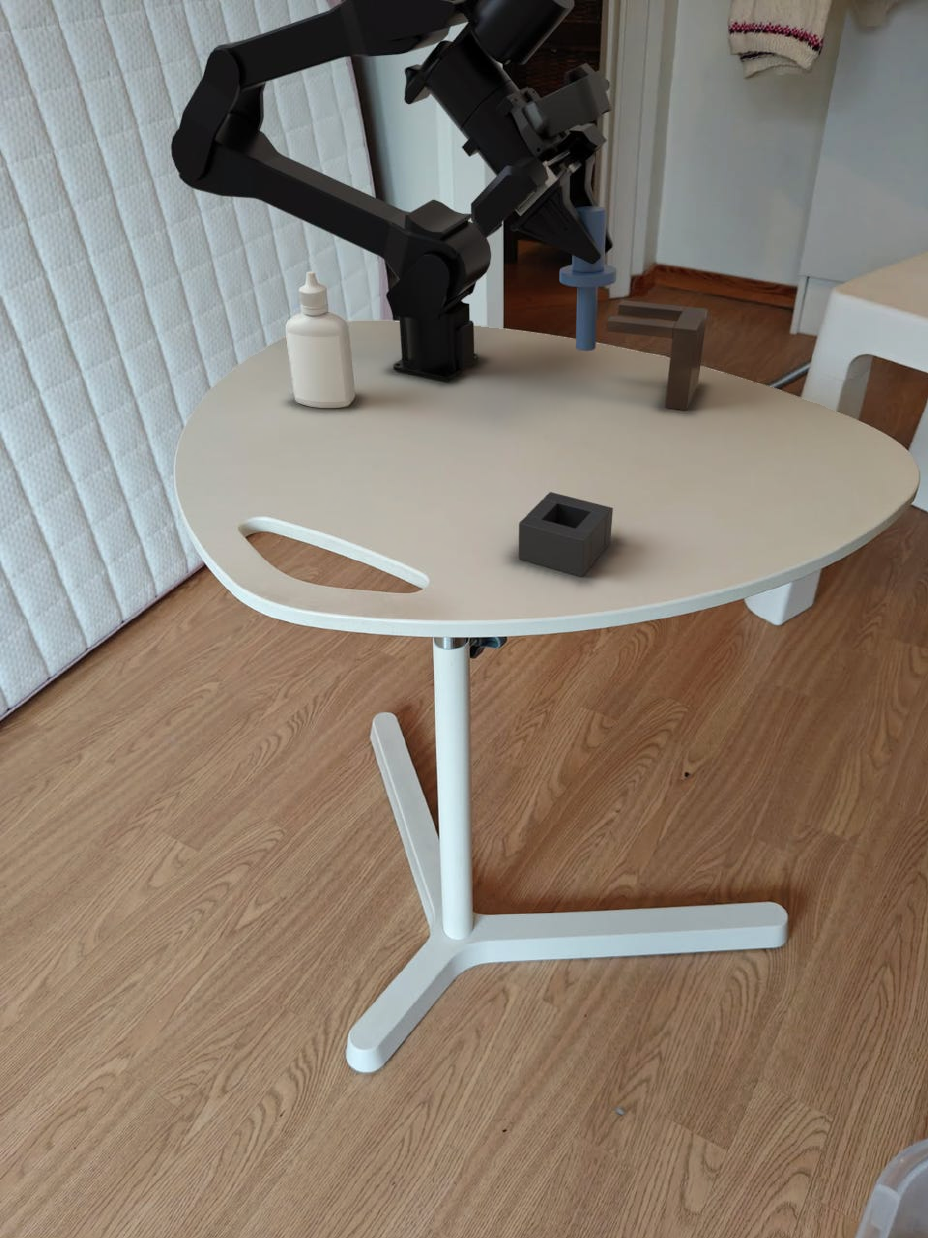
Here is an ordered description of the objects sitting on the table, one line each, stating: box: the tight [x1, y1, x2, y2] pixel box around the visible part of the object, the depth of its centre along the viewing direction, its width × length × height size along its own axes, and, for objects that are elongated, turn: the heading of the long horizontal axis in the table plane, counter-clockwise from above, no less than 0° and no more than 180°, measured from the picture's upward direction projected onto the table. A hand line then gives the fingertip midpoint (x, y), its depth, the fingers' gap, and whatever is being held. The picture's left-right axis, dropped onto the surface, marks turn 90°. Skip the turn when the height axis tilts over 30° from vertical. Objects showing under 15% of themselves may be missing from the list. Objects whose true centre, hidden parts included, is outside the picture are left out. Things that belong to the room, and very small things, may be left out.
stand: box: [605, 300, 708, 411], centre depth 90 cm, size 8×6×8 cm
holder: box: [518, 491, 614, 578], centre depth 70 cm, size 5×5×3 cm
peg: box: [559, 205, 618, 352], centre depth 87 cm, size 5×5×12 cm
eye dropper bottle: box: [285, 270, 356, 409], centre depth 89 cm, size 4×6×12 cm
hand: (603, 255), depth 85 cm, fingers closed on peg, 3 cm apart
